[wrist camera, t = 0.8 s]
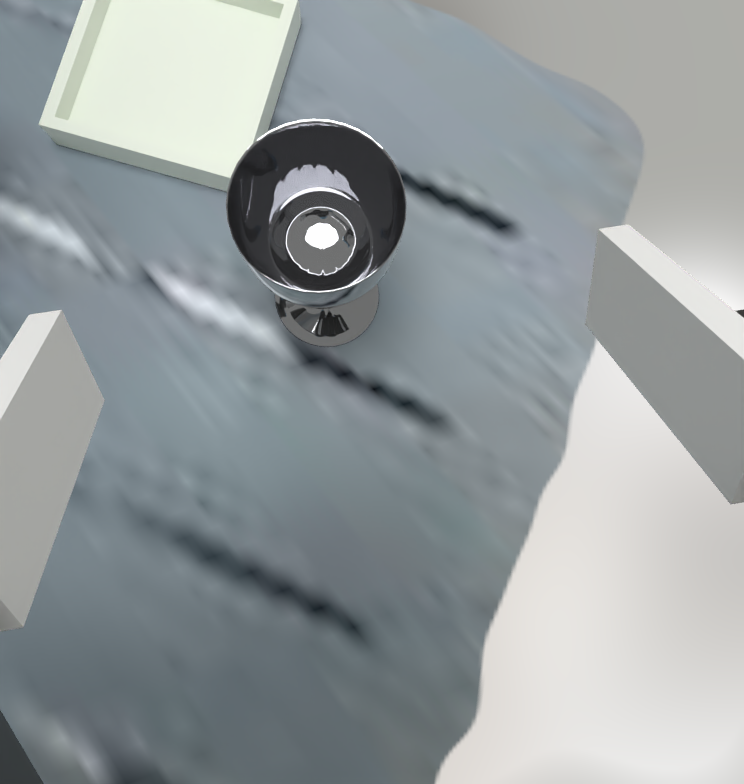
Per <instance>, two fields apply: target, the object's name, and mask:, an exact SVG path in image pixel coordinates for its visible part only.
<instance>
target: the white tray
mask: <svg viewBox="0 0 744 784" xmlns="http://www.w3.org/2000/svg"><path fill="white" fill-rule="evenodd" d="M300 26H301V16H300V6H299V0H83V3H82V5H81V8H80V11H79V14H78V17H77V19H76V22H75V25H74V28H73V30H72V33H71V36H70V39H69V41H68V44H67V47H66V50H65V53H64V55H63V58H62V61H61V64H60V66H59V69H58V72H57V75H56V78H55V80H54V83H53V86H52V89H51V91H50V94H49V97H48V100H47V102H46V105H45V108H44V111H43V114H42V116H41V119H40V122H39V125H40V127H41V128H42V129H43V130H44V131H45V132H46V133H47V134H48V135H49V136H50V137H51V139H52V140H53V141H54V142H55V143H56V144H57V145H61V146H65V147H68V148H72V149H75V150H79V151H83V152H86V153H90V154H93V155H97V156H100V157H104V158H108V159H111V160H115V161H118V162H122V163H126V164H129V165H133V166H136V167H140V168H144V169H147V170H151V171H154V172H158V173H161V174H165V175H169V176H172V177H176V178H179V179H183V180H187V181H190V182H194V183H197V184H201V185H204V186H208V187H212V188H215V189H219V190H222V191H226V192H227V189H228V186H229V182H230V178H231V175H232V173H233V171H234V169H235V167H236V165H237V163H238V161H239V160H240V158H241V157H242V155H243V154H244V153H245V151H246V150H247V149H248V148H249V147H250V146H251V145H252V144H253V143H254V142H255V141H256V140H257V139H259V138H260V137H262V136H263V135H265V134H266V133H267V132H268V129H269V126H270V123H271V119H272V116H273V113H274V110H275V107H276V103H277V100H278V97H279V94H280V91H281V87H282V84H283V81H284V78H285V74H286V71H287V68H288V65H289V62H290V58H291V55H292V52H293V49H294V46H295V42H296V39H297V36H298V33H299V29H300Z"/></svg>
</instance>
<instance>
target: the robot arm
mask: <svg viewBox="0 0 744 784" xmlns="http://www.w3.org/2000/svg"><path fill="white" fill-rule="evenodd" d="M585 325H586V326H587V327H588V328H589V330H590V331H591V332H592V333H593V335H594V336H595V337H596V338H597V340H598V341H599V342H600V343H601V345H602V346H603V347H604V348H605V349H606V351H607V352H608V353H609V354H610V356H611V357H612V358H613V359H614V361H615V362H616V363H617V364H618V366H619V367H620V368H621V369H622V370H623V372H624V373H625V374H626V375H627V377H628V378H629V379H630V380H631V382H632V383H633V384H634V385H635V387H636V388H637V389H638V390H639V391H640V393H641V394H642V395H643V396H644V398H645V399H646V400H647V401H648V403H649V404H650V405H651V406H652V407H653V409H654V410H655V411H656V413H657V414H658V415H659V416H660V418H661V419H662V420H663V421H664V422H665V424H666V425H667V426H668V427H669V429H670V430H671V431H672V432H673V434H674V435H675V436H676V437H677V439H678V440H679V441H680V442H681V443H682V445H683V446H684V447H685V448H686V449H687V451H688V452H689V453H690V454H691V456H692V457H693V458H694V459H695V461H696V462H697V463H698V465H699V466H700V467H701V468H702V469H703V471H704V472H705V473H706V474H707V476H708V477H709V478H710V479H711V481H712V482H713V483H714V484H715V485H716V487H717V488H718V489H719V491H721V493H722V494H723V495H724V497H725V498H726V499H727V500H728V502H729V503H730V504H736V503H742V502H744V310H738V311H735V310H733V309H732V308H731V307H730V306H728V305H727V304H726V303H725V302H724V301H722V300H721V299H720V298H719V297H717V296H716V295H715V294H714V293H712V292H711V291H710V290H709V289H707V288H706V287H705V286H704V285H703V284H701V283H700V282H699V281H698V280H696V279H695V278H694V277H693V276H691V275H690V274H689V273H688V272H686V271H685V270H684V269H683V268H682V267H680V266H679V265H678V264H677V263H675V262H674V261H673V260H672V259H670V258H669V257H668V256H667V255H665V254H664V253H663V252H661V251H660V250H659V249H658V248H656V247H655V246H654V245H653V244H652V243H651V242H649V241H648V240H647V239H646V238H644V237H643V236H642V235H641V234H639V233H638V232H637V231H636V230H634V229H633V228H632V227H631V226H630V225H622V226H615V227H609V228H602V229H598V236H597V243H596V250H595V258H594V265H593V272H592V279H591V286H590V294H589V301H588V308H587V315H586V323H585ZM103 403H104V398H103V396H102V394H101V392H100V390H99V387H98V385H97V383H96V381H95V379H94V377H93V375H92V373H91V371H90V369H89V366H88V364H87V362H86V360H85V358H84V356H83V354H82V352H81V350H80V347H79V345H78V343H77V341H76V339H75V337H74V335H73V333H72V331H71V328H70V326H69V324H68V322H67V320H66V318H65V316H64V314H63V312H62V310H57V311H51V312H44V313H37V314H31V315H29V316H28V317H27V319H26V320H25V322H24V323H23V325H22V327H21V328H20V330H19V331H18V333H17V334H16V336H15V338H14V339H13V341H12V342H11V344H10V345H9V347H8V349H7V350H6V352H5V353H4V355H3V356H2V358H1V360H0V631H6V630H11V629H17V628H23V627H24V625H25V622H26V619H27V616H28V613H29V611H30V608H31V605H32V602H33V599H34V597H35V594H36V591H37V588H38V585H39V583H40V580H41V577H42V574H43V571H44V569H45V566H46V563H47V560H48V557H49V555H50V552H51V549H52V546H53V543H54V541H55V538H56V535H57V532H58V529H59V527H60V524H61V521H62V518H63V515H64V513H65V510H66V507H67V504H68V501H69V499H70V496H71V493H72V490H73V487H74V485H75V482H76V479H77V476H78V473H79V470H80V468H81V465H82V462H83V459H84V456H85V454H86V451H87V448H88V445H89V442H90V440H91V437H92V434H93V431H94V428H95V426H96V423H97V420H98V417H99V414H100V412H101V409H102V406H103ZM0 784H43V782H42V780H41V779H40V777H39V775H38V774H37V772H36V770H35V768H34V767H33V765H32V763H31V762H30V760H29V758H28V757H27V755H26V753H25V751H24V750H23V748H22V746H21V745H20V743H19V741H18V740H17V738H16V736H15V734H14V733H13V731H12V729H11V728H10V726H9V724H8V723H7V721H6V719H5V717H4V716H3V714H2V712H1V711H0Z"/></svg>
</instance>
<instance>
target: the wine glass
mask: <svg viewBox="0 0 744 784" xmlns="http://www.w3.org/2000/svg"><path fill="white" fill-rule="evenodd" d="M226 210H227V220H228V224H229V227H230V231H231V234H232V237H233V240H234V242H235V244H236V246H237V248H238V250H239V252H240V254H241V256H242V258H243V260H244V261H245V263H246V264H247V265H248V267H249V268H250V270H251V271H252V272H253V274H254V275H255V276H256V278H257V279H258V280H259V281H260V282H261V283H262V284H264V285H265V286H266V287H267V288H268V289H269V290H270V291H272V292H273V293H275V303H276V308H277V312H278V315H279V317H280V319H281V321H282V323H283V324H284V325H285V327H286V328H287V329H288V330H289V331H290V332H291V333H292V334H293V335H294V336H296V337H297V338H299V339H300V340H302V341H304V342H306V343H309V344H311V345H316V346H322V347H332V346H339V345H342V344H346V343H348V342H350V341H352V340H354V339H356V338H357V337H358V336H360V335H361V334H362V333H363V332H364V331H365V330H366V329H367V328H368V327H369V325H370V324H371V322H372V321H373V319H374V317H375V314H376V312H377V308H378V304H379V290H378V284H377V283H378V282H379V281H380V280H381V278H382V277H383V276H384V275H385V273H386V272H387V270H388V269H389V267H390V266H391V264H392V262H393V259H394V257H395V255H396V252H397V250H398V247H399V245H400V242H401V238H402V233H403V229H404V225H405V220H406V196H405V188H404V185H403V182H402V179H401V176H400V173H399V171H398V169H397V167H396V165H395V163H394V162H393V160H392V159H391V157H390V156H389V155H388V153H387V152H386V151H385V150H384V148H383V147H381V146H380V145H379V144H378V143H377V142H376V141H375V140H374V139H373V138H371V137H370V136H368V135H367V134H365V133H364V132H362V131H360V130H359V129H356V128H354V127H352V126H349V125H347V124H344V123H340V122H336V121H332V120H322V119H309V120H299V121H295V122H291V123H287V124H284V125H282V126H279V127H277V128H275V129H273V130H271V131H269V132H268V133H266V134H265V135H263V136H262V137H260V138H259V139H257V140H256V141H255V142H254V143H253V144H252V145H251V146H250V147H249V148H248V149H247V150H246V151H245V153H244V154H243V155H242V157H241V158H240V160H239V161H238V163H237V165H236V167H235V169H234V171H233V173H232V175H231V178H230V182H229V186H228V189H227V199H226Z"/></svg>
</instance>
